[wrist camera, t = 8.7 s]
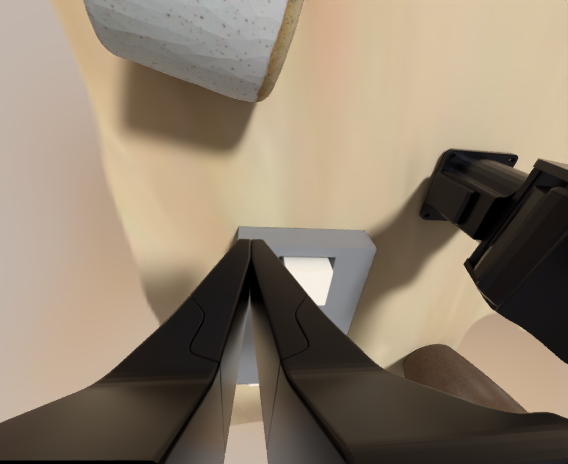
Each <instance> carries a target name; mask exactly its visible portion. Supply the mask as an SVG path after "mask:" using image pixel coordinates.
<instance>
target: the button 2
mask: <svg viewBox="0 0 568 464" xmlns="http://www.w3.org/2000/svg"><path fill="white" fill-rule="evenodd" d="M280 260H281V262H282V263H283V264H284V265H285V267H286V268H287V269H288V270H289V272H290V273H291V274H292V275H293V276H294V278H295V279H296V280H297V281H298V283H299V284H300V285H301V286H302V287H303V289H304V290H305V291H306V292H307V294H308V296H310V297H311V298H312V300H313V301H314V302H315V303H316V304H317V305H325V303H326V299H327V295H328V291H329V287H330V283H331V279H332V276H333V270H332V267H331V265H330V262H329V259H328V257H291V256H280Z"/></svg>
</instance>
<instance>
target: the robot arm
mask: <svg viewBox="0 0 568 464" xmlns="http://www.w3.org/2000/svg"><path fill="white" fill-rule="evenodd" d="M452 153H453V155H452V157H450V155H451V154H452ZM510 159H511V160H510ZM509 160H510V161H509ZM517 160H518V156H517V155H515V154H512V153H502V152H489V151H477V150H464V149H449V150H447V151H446V153H445V154H444V157H443V159H442V161H441V164H440V166H439V169H438V171H437V173H436V176H435V178H434V180H433V183H432V185H431V188H430V190H429V192H428V195H427V197H426V199H425V202H424V204H423V207H422V209H421V211H420V217H421V218H422V219H424V220H443V221H450V222H451V223H452V224H455V225H456V226H457V227H458V228H460V229H461V230H462V231H463V232H465V233H466V234H467V235H468V236H470V237H471V238H472V239H474V240H476V241H477V242H479V243H480V244H479V245H478V247H477V248H476V249H475V251H474V252H473V254H472V255H471V256H470V258H467V260H466V261H465V262H464V266H465V268H466V269H467V271H468V273H469V274H470V276H471V278H472V279H473V281H474V283H475V285H476V286H477V289H478V290H479V291H480V293H481V295H482V296H483V298H484V299H485V301H486V302H487V303H488V305H489V306H490V307H491V308H492V309H493V310H495V311H496V312H497V313H499V314H500V315H502V316H503V317H505V318H506V319H508V320H510V321H512V322H513V323H515V324H517V325H519V326H520V327H522V328H523V329H525V330H526V331H527V332H529V333H530V334H532V335H533V336H534V337H535V338H536V339H538V340H539V341H540V342H541V343H543V344H544V345H545V346H546V347H547V348H548V349H549V350H550V351H552V352H553V353H554V354H555V355H556V356H558V358H560V359H561V360H562V361H564V362H565V363H567V364H568V165H567V164H563V163H558V162H553V161H549V160H544V159H539V158H538V160H537V161H536V163H535V164H534V166H533V167H534V168H533V170H532V171H531V173H530V174H527V173H525V172H522V171H520V170H517V169H515V168H513V167H514V165H515V164H516V162H517ZM426 213H427V214H426ZM425 214H426V215H425ZM249 295H250V310H251V318H252V327H253V336H254V345H255V353H256V362H257V371H258V380H259V388H260V397H261V406H262V415H263V423H264V432H265V440H266V449H267V459H268V464H568V419H567V418H564V417H562V416H559V415H557V414H554V413H549V412H533V413H512V412H506V411H500V410H496V409H492V408H488V407H485V406H482V405H478V404H475V403H472V402H470V401H467V400H464V399H461V398H458V397H455V396H453V395H450V394H447V393H444V392H441V391H438V390H436V389H433V388H430V387H427V386H424V385H422V384H419V383H416V382H413V381H410V380H407V379H405V378H402V377H399V376H396V375H394V374H392V373H390V372H388V371H386V370H385V369H383V368H381V367H380V366H379V365H377V364H376V363H375V362H374V361H373V360H371V359H370V358H369V357H368V356H367V355H366V354H365V353H364V352H363V351H362V350H361V349H360V348H359V347H358V346H357V345H356V344H355V343H354V342H353V341H352V340H351V339H350V338H349V337H347V336H346V335H345V334H344V333H343V332H342V331H341V330H340V329H339V328H338V327H337V326H336V325H335V324H334V323H333V322H332V321H331V320H330V319H329V318H328V317H327V316H326V315H325V314H324V312H323V311H322V310H321V309H320V308H319V307H318V306H317V304H316V303H315V302H314V301H313V300H312V298H311V297H310V296H308V294H307V292H306V291H305V290H304V289H303V287H302V286H301V285H300V284H299V283H298V281H297V280H296V279H295V278H294V276H293V275H292V274H291V273H290V272H289V270H288V269H287V268H286V267H285V265H284V264H283V263H282V262H281V260H280V259H279V258H278V257H277V256H276V254H275V253H274V252H273V251H272V249H271V248H270V247H269V246H268V245H267V243H266V242H265V241H264V240H263V239H252V240H250V239H238V240H237V242H236V243H235V244H234V245H233V246H232V247H231V248H230V250H229V251H228V252H227V253H226V254H225V255H224V257H223V258H222V259H221V260H220V261H219V262H218V263H217V265H216V266H215V267H214V268H213V269H212V270H211V271H210V273H209V274H208V275H207V276H206V277H205V278H204V280H203V281H202V282H201V283H200V284H199V285H198V286H197V288H196V289H195V290H194V291H193V292H192V293H191V294H190V296H189V297H188V298H187V299H186V300H185V301H184V302H183V303H182V305H181V306H180V307H179V308H178V309H177V310H176V311H175V312H174V313H173V314H172V315H171V316H170V317H169V318H168V319H167V320H166V321H165V322H164V323H163V324H162V325H161V326H160V327H159V328H158V329H157V330H156V331H155V332H154V333H153V334H151V336H149V337H148V338H147V339H146V340H145V341H144V342H143V343H142V344H141V345H139V346H138V347H137V348H136V349H135V350H134V351H133V352H132V353H131V354H130V355H129V356H127V358H125V359H124V360H123V361H122V362H121V363H120V364H119V365H118V366H117V367H115V368H114V369H113V370H112V371H111V372H110V373H108V374H107V375H105V376H104V377H103V378H102V379H100V380H99V381H97V382H95V383H94V384H92V385H91V386H89V387H87V388H85V389H83V390H81V391H78V392H76V393H73V394H71V395H68V396H66V397H63V398H61V399H58V400H56V401H53V402H51V403H48V404H46V405H43V406H41V407H39V408H36V409H33V410H31V411H28V412H26V413H24V414H21V415H18V416H16V417H14V418H11V419H8V420H6V421H4V422H1V423H0V464H223V463H224V457H225V451H226V445H227V439H228V432H229V426H230V420H231V414H232V407H233V401H234V395H235V388H236V382H237V376H238V369H239V363H240V357H241V351H242V344H243V338H244V332H245V325H246V319H247V313H248V306H249Z"/></svg>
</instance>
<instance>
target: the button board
mask: <svg viewBox="0 0 568 464" xmlns="http://www.w3.org/2000/svg"><path fill="white" fill-rule="evenodd" d="M238 239H250V240H252V239H263V240H264V241H265V242H266V243H267V245H268V246H269V247H270V248H271V249H272V251H273V252H274V253H275V254H276V256H277V257H278V258H279V256H291V257H328V259H329V262H330V265H331V267H332V270H333V276H332V279H331V283H330V287H329V291H328V295H327V299H326V303H325V305H317V306H318V307H319V308H320V309H321V310H322V311H323V312H324V314H325V315H326V316H327V317H328V318H329V319H330V320H331V321H332V322H333V323H334V324H335V325H336V326H337V327H338V328H339V329H340V330H341V331H342V332H343V333H344V334H345V335H346V336H347V333H348V330H349V327H350V324H351V322H352V319H353V316H354V313H355V310H356V307H357V305H358V302H359V299H360V296H361V293H362V290H363V287H364V285H365V282H366V279H367V276H368V273H369V270H370V268H371V265H372V262H373V259H374V256H375V253H376V251H377V248H376V246H375V245H374V243H373V242H372V240H371V239H370V237H369V236H368V234H367V233H366V232H365V230H334V229H302V228H271V227H240V226H239V231H238ZM239 384H259V380H258V371H257V362H256V353H255V345H254V336H253V327H252V318H251V310H250V295H249V306H248V313H247V319H246V325H245V332H244V338H243V344H242V351H241V357H240V363H239V369H238V376H237V385H239Z"/></svg>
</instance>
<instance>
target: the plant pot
mask: <svg viewBox="0 0 568 464" xmlns="http://www.w3.org/2000/svg"><path fill="white" fill-rule="evenodd" d="M404 373H405V379H407V380H410V381H413V382H416V383H419V384H422V385H424V386H427V387H430V388H433V389H436V390H438V391H441V392H444V393H447V394H450V395H453V396H455V397H458V398H461V399H464V400H467V401H470V402H472V403H475V404H478V405H482V406H485V407H488V408H492V409H496V410H500V411H506V412H512V413H528V412H527V411H526V410H525V409H524V408H523V407H522V406H520V404H518V403H517V402H516V401H515V400H514V399H513V398H512V397H511V396H510V395H508V394H507V393H506V392H505V391H504V390H503V389H502V388H500V387H499V386H498V385H497V384H496V383H495V382H493V381H492V380H491V379H490V378H489V377H488V376H486V375H485V374H484V373H483V372H482V371H480V370H479V369H478V368H476V367H475V366H474V365H473V364H471V363H470V362H469V361H468V360H466V359H465V358H464V357H462V356H461V355H460V354H458V353H457V352H456V351H454V350H453V349H452V348H450V347H449V346H446V345H441V344H436V345H430V346H426V347H423V348H421V349H418V350H417V351H415V352H413V353H412V354H410V355H409V356H408V357H407V359H406V360H405V362H404Z"/></svg>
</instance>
